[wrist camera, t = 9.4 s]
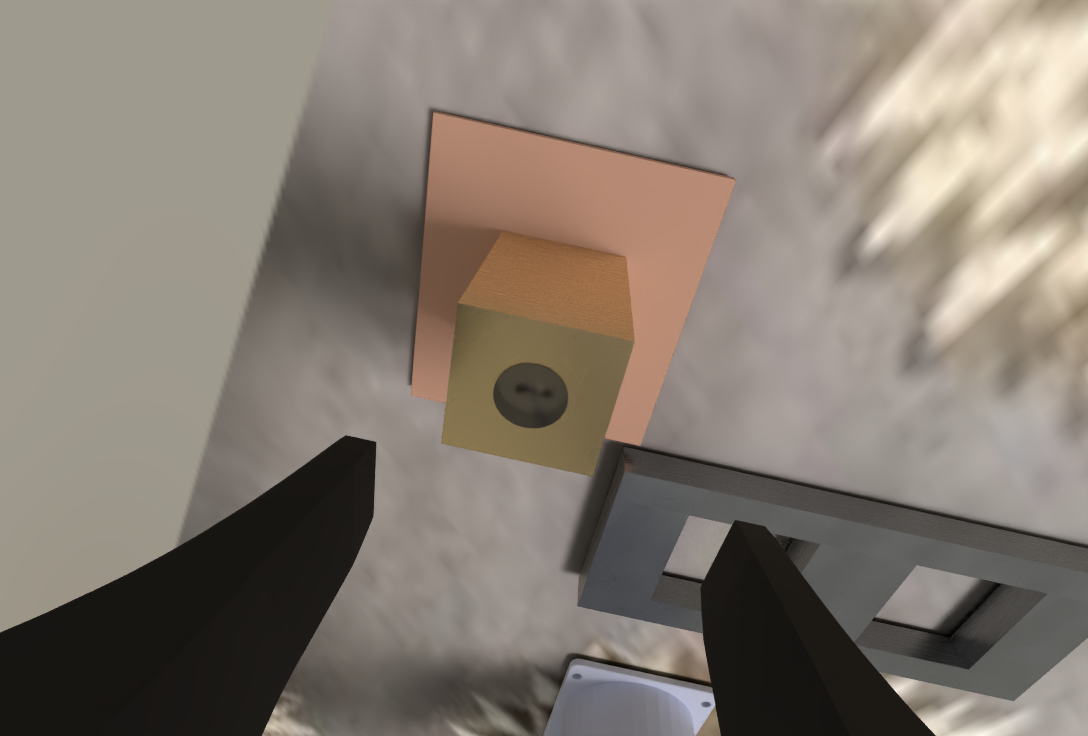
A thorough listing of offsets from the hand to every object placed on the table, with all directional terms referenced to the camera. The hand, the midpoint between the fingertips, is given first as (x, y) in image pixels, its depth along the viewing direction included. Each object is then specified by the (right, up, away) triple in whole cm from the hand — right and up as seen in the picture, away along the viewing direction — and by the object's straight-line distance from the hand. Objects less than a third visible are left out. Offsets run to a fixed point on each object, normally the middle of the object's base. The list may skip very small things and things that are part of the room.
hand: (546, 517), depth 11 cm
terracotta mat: (0, +5, +8) cm, 9 cm away
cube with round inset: (0, +5, +7) cm, 9 cm away
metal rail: (+12, -6, +13) cm, 18 cm away
